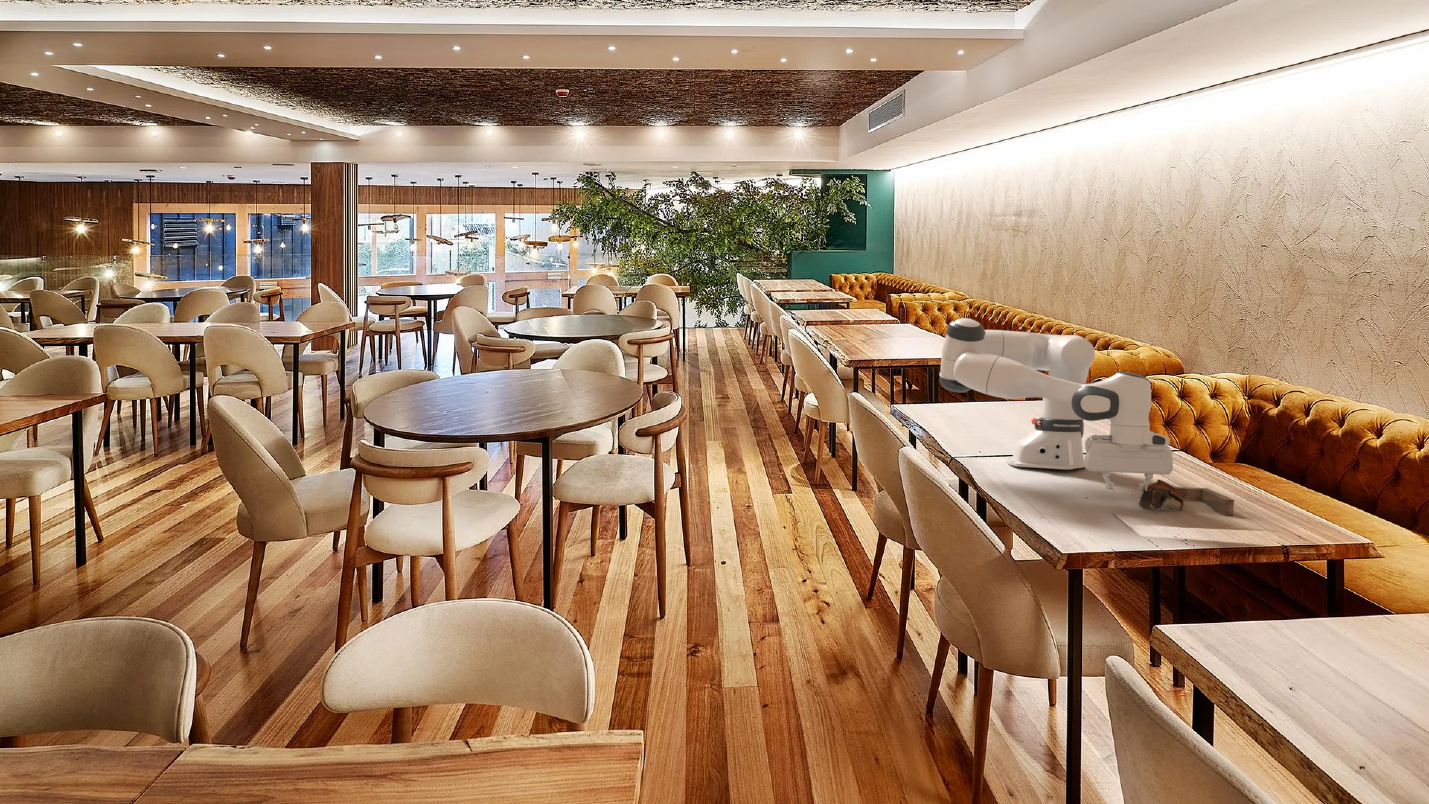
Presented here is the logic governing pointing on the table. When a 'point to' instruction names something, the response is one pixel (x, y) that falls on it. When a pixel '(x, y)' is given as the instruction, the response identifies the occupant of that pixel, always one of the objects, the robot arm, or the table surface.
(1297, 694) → the table surface
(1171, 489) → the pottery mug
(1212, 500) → the dock
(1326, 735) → the table surface
